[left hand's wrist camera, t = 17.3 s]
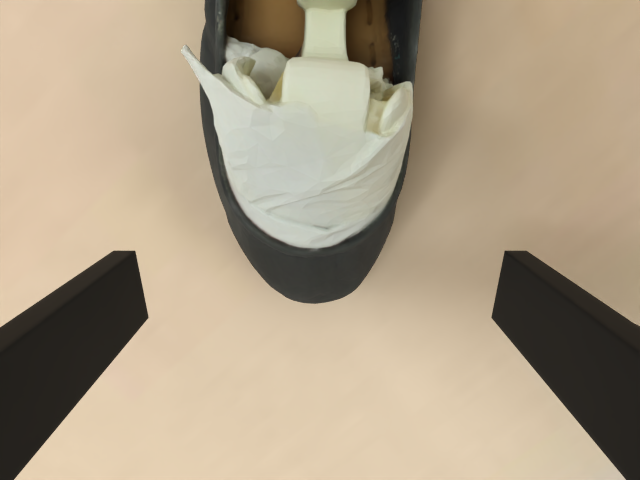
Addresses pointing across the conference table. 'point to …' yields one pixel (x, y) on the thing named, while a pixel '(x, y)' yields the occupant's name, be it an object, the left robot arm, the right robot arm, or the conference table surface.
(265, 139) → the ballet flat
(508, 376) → the conference table surface
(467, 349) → the conference table surface
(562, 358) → the left robot arm
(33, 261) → the conference table surface
